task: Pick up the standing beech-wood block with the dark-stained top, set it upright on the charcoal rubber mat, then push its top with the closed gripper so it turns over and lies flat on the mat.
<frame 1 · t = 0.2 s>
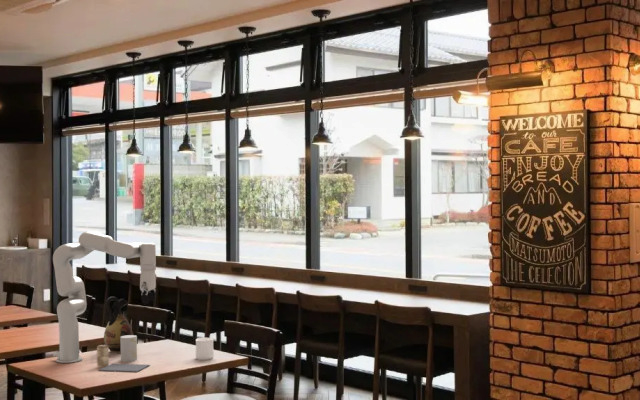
hand: (148, 301, 392), 31 cm above the table, fingers open, 9 cm apart
mat: (124, 368, 381), on the table
block: (103, 366, 387), on the table
cup 2: (204, 358, 403), on the table
cup: (128, 360, 401), on the table
ceramic jug: (117, 352, 423), on the table
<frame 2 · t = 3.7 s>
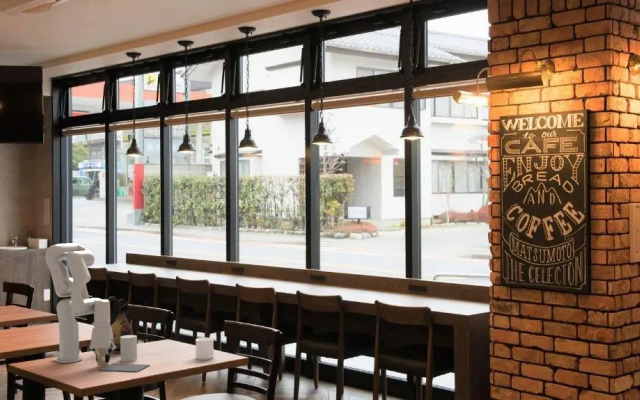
hand: (102, 361, 387), 2 cm above the table, fingers closed on block, 4 cm apart
block: (103, 366, 387), on the table, touching gripper
everything else where it was.
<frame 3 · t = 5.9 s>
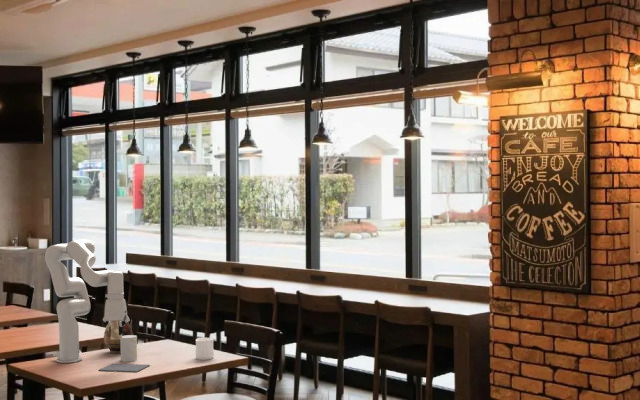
hand: (116, 334, 382), 17 cm above the table, fingers closed on block, 4 cm apart
block: (116, 338, 382), point 14 cm above the table, touching gripper
everything else where it was.
when the fingers open (4 cm above the table, at t = 8.4 s): block stays where it is, resting on mat.
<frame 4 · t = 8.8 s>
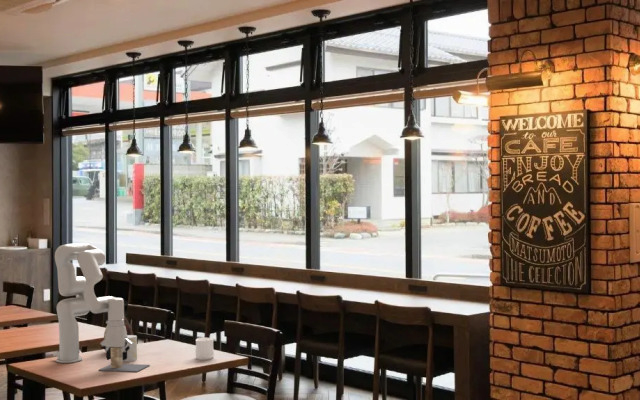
hand: (116, 359, 382), 4 cm above the table, fingers open, 7 cm apart
block: (116, 366, 382), point 1 cm above the table, touching mat
everything else where it was.
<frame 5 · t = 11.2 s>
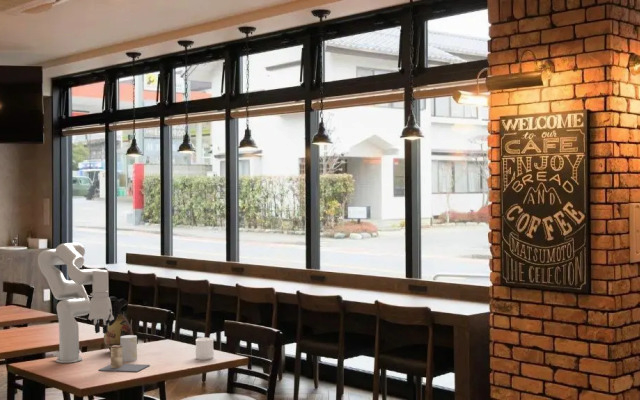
hand: (101, 332, 384), 17 cm above the table, fingers open, 3 cm apart
nothing on the table moved.
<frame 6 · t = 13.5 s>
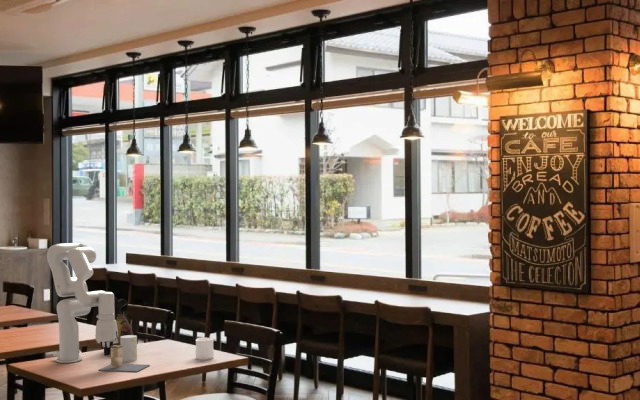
hand: (107, 355, 383), 6 cm above the table, fingers closed
block: (116, 366, 382), point 1 cm above the table, touching gripper, mat
everything else where it was.
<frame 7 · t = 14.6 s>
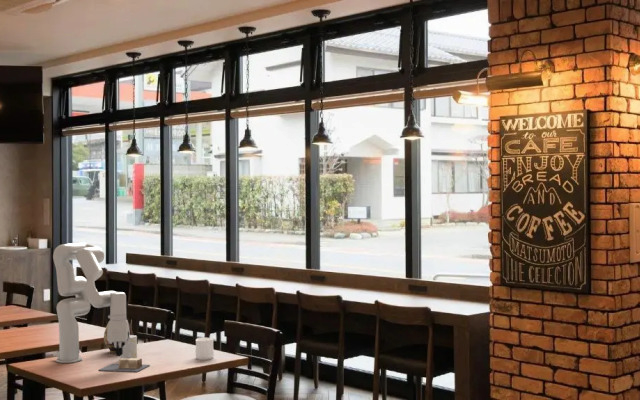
hand: (119, 355, 382), 6 cm above the table, fingers closed
block: (120, 362, 382), point 3 cm above the table, tilted 90°, touching mat
everything else where it was.
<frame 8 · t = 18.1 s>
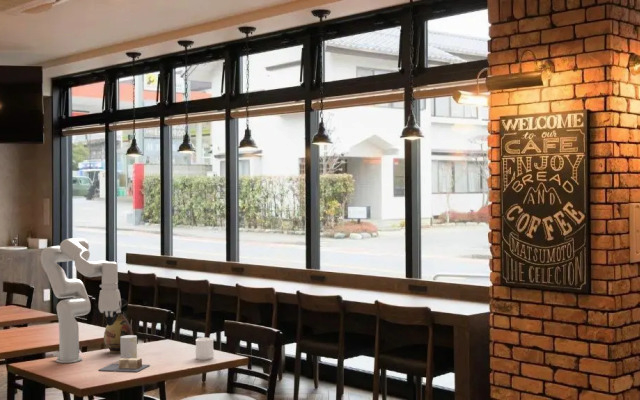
hand: (110, 324, 383), 21 cm above the table, fingers closed
nothing on the table moved.
at the end: block tilted 90°; block inside the target area on the mat (2.1 cm from its centre), point 2.6 cm above the mat's base; the gripper is holding nothing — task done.
